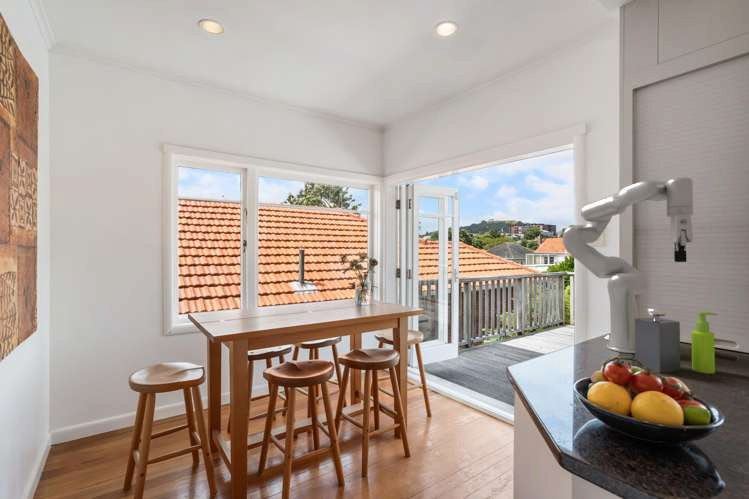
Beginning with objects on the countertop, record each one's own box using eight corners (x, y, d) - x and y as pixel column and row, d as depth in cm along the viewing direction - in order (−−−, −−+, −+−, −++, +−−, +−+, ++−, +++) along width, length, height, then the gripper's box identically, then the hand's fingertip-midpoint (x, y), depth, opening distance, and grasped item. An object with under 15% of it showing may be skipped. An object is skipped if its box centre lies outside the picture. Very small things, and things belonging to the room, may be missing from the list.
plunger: (641, 361, 134) (640, 308, 134) (655, 359, 135) (654, 307, 135) (659, 366, 128) (658, 310, 128) (673, 365, 129) (672, 309, 129)
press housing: (635, 365, 135) (634, 318, 135) (655, 362, 137) (654, 317, 137) (659, 373, 126) (659, 323, 126) (680, 370, 128) (679, 321, 128)
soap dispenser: (722, 374, 124) (721, 313, 124) (698, 373, 126) (697, 313, 125) (710, 368, 130) (709, 310, 130) (688, 367, 131) (687, 310, 131)
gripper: (698, 209, 129) (699, 262, 129) (687, 212, 142) (688, 261, 142) (671, 211, 133) (672, 262, 133) (662, 214, 146) (663, 261, 146)
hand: (680, 261), depth 138 cm, fingers closed
